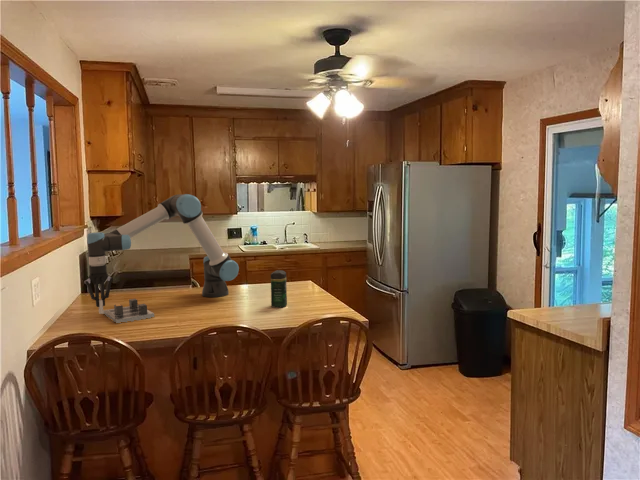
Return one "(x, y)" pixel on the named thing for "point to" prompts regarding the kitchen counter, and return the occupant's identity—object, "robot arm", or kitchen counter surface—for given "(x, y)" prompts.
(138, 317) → the breaker panel
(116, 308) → the block
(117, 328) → the kitchen counter surface
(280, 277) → the coffee jar
